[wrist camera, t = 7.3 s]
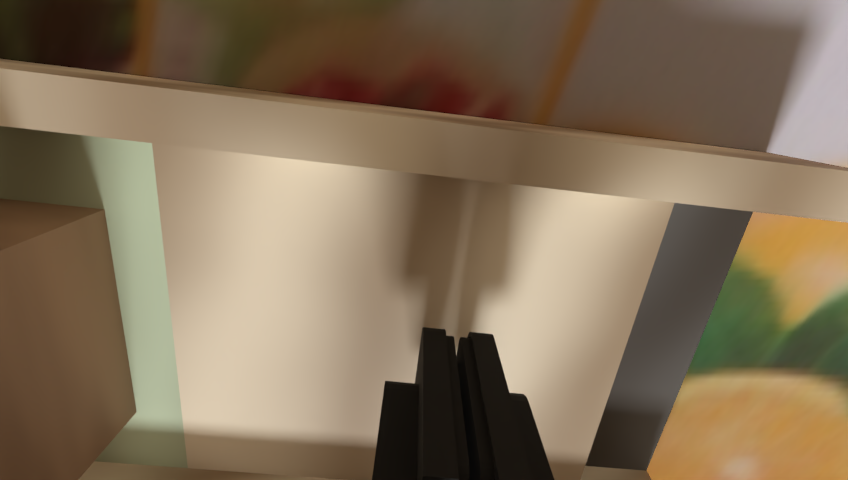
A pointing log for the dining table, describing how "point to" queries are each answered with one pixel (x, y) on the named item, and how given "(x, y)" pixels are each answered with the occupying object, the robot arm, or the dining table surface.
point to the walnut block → (58, 342)
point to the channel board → (383, 263)
